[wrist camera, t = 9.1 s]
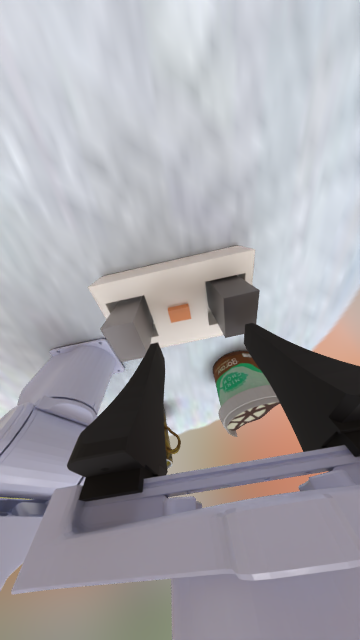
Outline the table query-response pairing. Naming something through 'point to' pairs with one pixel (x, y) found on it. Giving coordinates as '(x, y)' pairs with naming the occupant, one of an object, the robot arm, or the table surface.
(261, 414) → the food container
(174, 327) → the power strip
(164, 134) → the table surface
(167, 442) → the ceramic cup
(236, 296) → the dark grey square prism
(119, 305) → the charcoal plug
